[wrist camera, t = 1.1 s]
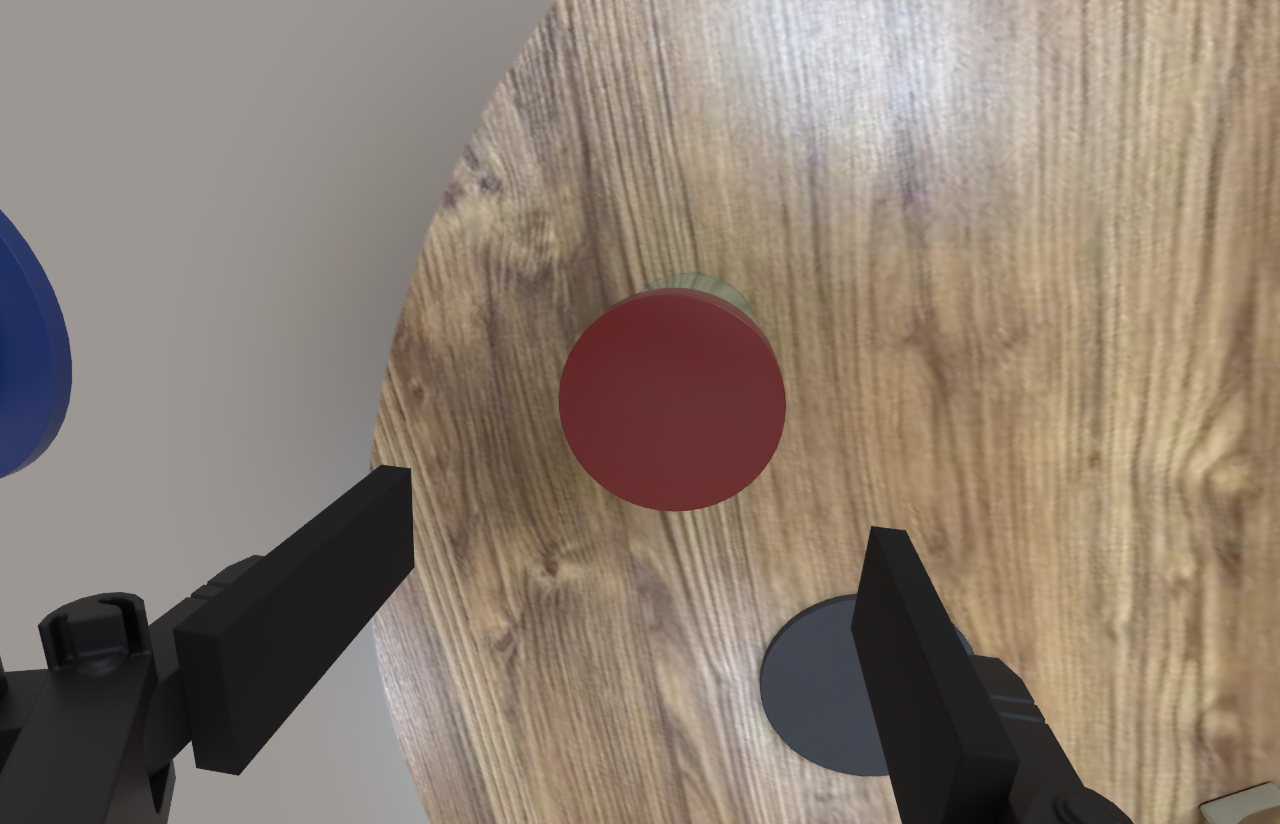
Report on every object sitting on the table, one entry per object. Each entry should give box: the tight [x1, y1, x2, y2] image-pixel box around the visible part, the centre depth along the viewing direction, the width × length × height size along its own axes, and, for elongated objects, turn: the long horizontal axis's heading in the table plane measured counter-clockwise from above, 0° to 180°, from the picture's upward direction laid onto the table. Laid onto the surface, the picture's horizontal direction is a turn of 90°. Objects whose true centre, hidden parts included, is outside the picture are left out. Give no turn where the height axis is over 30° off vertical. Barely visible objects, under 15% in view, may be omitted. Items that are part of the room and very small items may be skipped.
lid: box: [559, 287, 786, 511], centre depth 27 cm, size 9×9×2 cm
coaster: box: [760, 594, 975, 776], centre depth 42 cm, size 13×13×1 cm
